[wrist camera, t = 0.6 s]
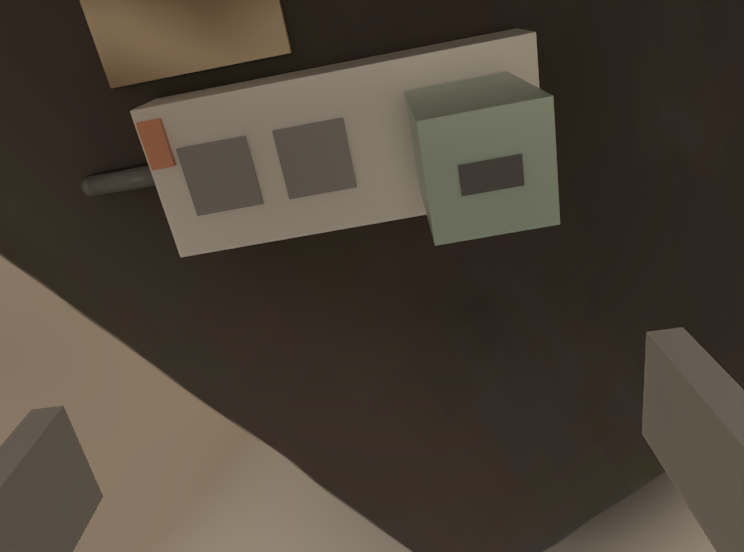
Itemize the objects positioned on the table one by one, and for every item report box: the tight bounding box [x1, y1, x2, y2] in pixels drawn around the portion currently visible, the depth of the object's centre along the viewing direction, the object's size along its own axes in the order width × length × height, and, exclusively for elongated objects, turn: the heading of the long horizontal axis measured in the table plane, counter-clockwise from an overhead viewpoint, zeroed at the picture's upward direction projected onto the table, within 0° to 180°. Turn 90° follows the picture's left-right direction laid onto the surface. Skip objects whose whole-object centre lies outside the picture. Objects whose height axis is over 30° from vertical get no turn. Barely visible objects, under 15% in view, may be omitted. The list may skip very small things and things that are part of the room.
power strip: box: [81, 28, 539, 257], centre depth 32 cm, size 26×8×4 cm, turn 100°
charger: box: [405, 71, 560, 246], centre depth 27 cm, size 5×5×10 cm
